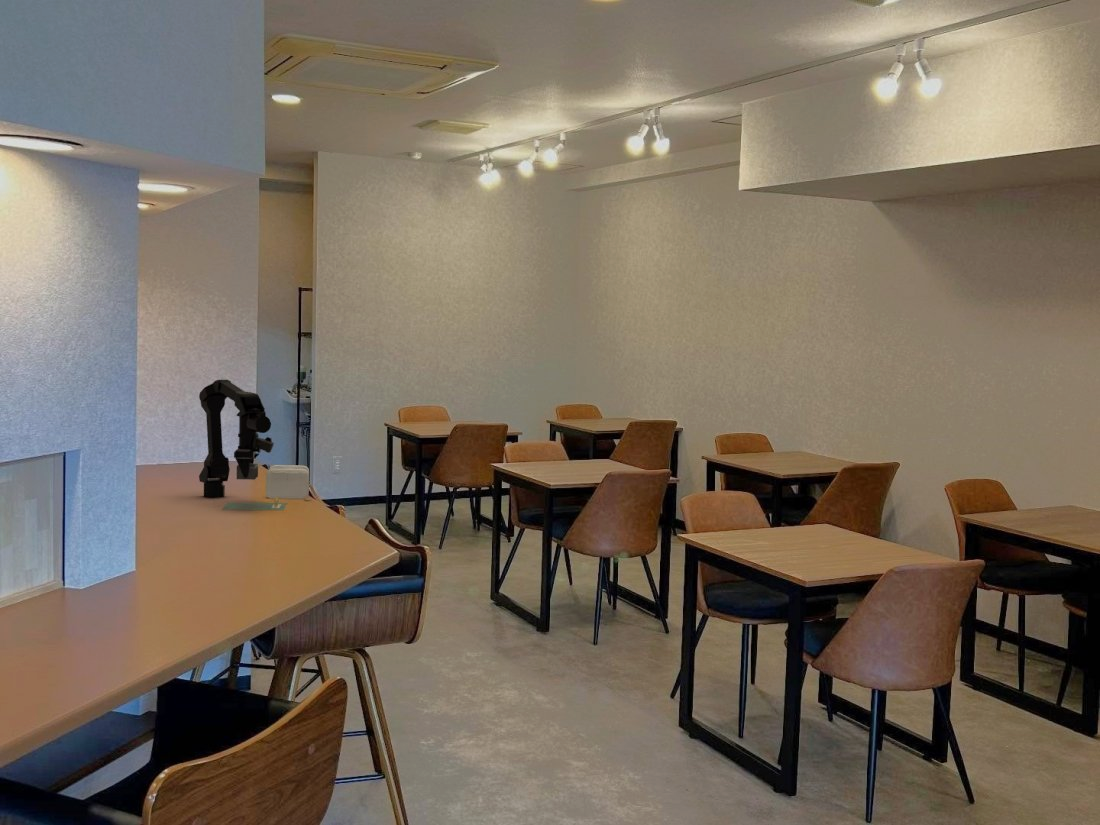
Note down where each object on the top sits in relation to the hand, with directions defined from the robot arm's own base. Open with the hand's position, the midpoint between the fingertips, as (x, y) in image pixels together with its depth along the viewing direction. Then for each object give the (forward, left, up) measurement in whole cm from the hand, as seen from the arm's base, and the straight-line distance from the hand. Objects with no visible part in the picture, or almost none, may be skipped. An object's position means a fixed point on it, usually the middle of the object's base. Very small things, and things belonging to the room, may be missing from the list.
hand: (247, 476), depth 349 cm
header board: (+3, 0, -11) cm, 12 cm away
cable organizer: (+12, +21, -12) cm, 27 cm away
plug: (0, 0, -1) cm, 1 cm away
